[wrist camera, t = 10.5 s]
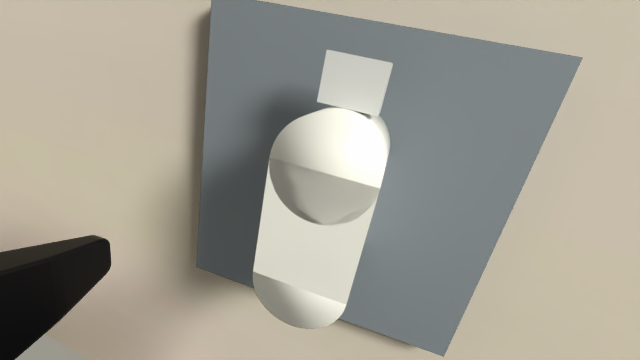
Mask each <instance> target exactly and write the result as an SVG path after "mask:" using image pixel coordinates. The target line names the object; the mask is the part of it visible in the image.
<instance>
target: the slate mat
mask: <svg viewBox="0 0 640 360" xmlns="http://www.w3.org/2000/svg"><path fill="white" fill-rule="evenodd" d="M327 50H332V51H337V52H342V53H347V54H352V55H357V56H361V57H366V58H371V59H376V60H381V61H386V62H391V63H393V66H392V70H391V74H390V78H389V81H388V85H387V89H386V93H385V96H384V100H383V104H382V108H381V111H380V114H379V116H380V117H381V118H382V119H383V121H384V122H385V124H386V126H387V129H388V132H389V136H390V151H389V155H388V159H387V163H386V167H385V171H384V176H383V180H382V184H381V188H380V191H379V195H378V198H377V202H376V205H375V208H374V212H373V215H372V219H371V222H370V225H369V229H368V232H367V236H366V239H365V243H364V246H363V249H362V253H361V256H360V260H359V263H358V267H357V270H356V273H355V277H354V280H353V284H352V287H351V291H350V294H349V297H348V301H347V304H346V307H345V310H344V311H343V313H342V315H341V316H340V317H339V318H338V319H341V320H344V321H347V322H349V323H352V324H355V325H358V326H361V327H363V328H366V329H369V330H372V331H374V332H377V333H380V334H383V335H385V336H388V337H391V338H394V339H396V340H399V341H402V342H405V343H407V344H410V345H413V346H416V347H419V348H421V349H424V350H427V351H430V352H432V353H435V354H438V355H441V356H443V357H444V355H445V353H446V351H447V349H448V346H449V344H450V342H451V340H452V338H453V336H454V334H455V331H456V329H457V327H458V325H459V323H460V321H461V318H462V316H463V314H464V312H465V310H466V308H467V306H468V303H469V301H470V299H471V297H472V295H473V293H474V291H475V288H476V286H477V284H478V282H479V280H480V278H481V275H482V273H483V271H484V269H485V267H486V265H487V263H488V260H489V258H490V256H491V254H492V252H493V250H494V247H495V245H496V243H497V241H498V239H499V237H500V235H501V232H502V230H503V228H504V226H505V224H506V222H507V220H508V217H509V215H510V213H511V211H512V209H513V207H514V204H515V202H516V200H517V198H518V196H519V194H520V192H521V189H522V187H523V185H524V183H525V181H526V179H527V176H528V174H529V172H530V170H531V168H532V166H533V164H534V161H535V159H536V157H537V155H538V153H539V151H540V149H541V146H542V144H543V142H544V140H545V138H546V136H547V133H548V131H549V129H550V127H551V125H552V123H553V121H554V118H555V116H556V114H557V112H558V110H559V108H560V105H561V103H562V101H563V99H564V97H565V95H566V93H567V90H568V88H569V86H570V84H571V82H572V80H573V78H574V75H575V73H576V71H577V69H578V67H579V65H580V62H581V60H582V57H576V56H571V55H565V54H559V53H554V52H548V51H542V50H537V49H531V48H525V47H519V46H514V45H508V44H502V43H497V42H491V41H485V40H480V39H474V38H468V37H463V36H457V35H451V34H445V33H440V32H434V31H428V30H423V29H417V28H411V27H406V26H400V25H394V24H388V23H383V22H377V21H371V20H366V19H360V18H354V17H349V16H343V15H337V14H331V13H326V12H320V11H314V10H309V9H303V8H297V7H292V6H286V5H280V4H275V3H269V2H263V1H257V0H211V18H210V35H209V53H208V71H207V88H206V106H205V123H204V141H203V159H202V176H201V194H200V211H199V229H198V247H197V264H196V267H198V268H200V269H203V270H206V271H209V272H211V273H214V274H217V275H220V276H222V277H225V278H228V279H231V280H233V281H236V282H239V283H242V284H245V285H247V286H250V287H253V288H254V284H253V268H254V261H255V254H256V247H257V240H258V233H259V227H260V220H261V213H262V206H263V199H264V192H265V185H266V178H267V171H268V164H269V157H270V153H271V149H272V146H273V144H274V142H275V140H276V138H277V136H278V135H279V134H280V132H281V131H282V130H283V129H284V128H285V127H286V126H287V125H288V124H290V123H291V122H292V121H294V120H296V119H298V118H300V117H302V116H305V115H308V114H310V113H313V112H316V111H319V110H322V109H324V108H327V107H330V106H332V105H328V104H324V103H320V102H317V98H318V93H319V88H320V83H321V77H322V72H323V67H324V61H325V56H326V51H327Z"/></svg>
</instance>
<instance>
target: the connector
mask: <svg viewBox="0 0 640 360" xmlns="http://www.w3.org/2000/svg"><path fill="white" fill-rule="evenodd" d="M392 66H393V63H391V62H386V61H381V60H376V59H371V58H366V57H361V56H357V55H352V54H347V53H342V52H337V51H332V50H327V51H326V56H325V61H324V67H323V72H322V77H321V83H320V88H319V93H318V98H317V102H320V103H324V104H328V105H332V106H330V107H327V108H324V109H322V110H319V111H316V112H313V113H310V114H308V115H305V116H302V117H300V118H298V119H296V120H294V121H292V122H291V123H290V124H288V125H287V126H286V127H285V128H284V129H283V130H282V131H281V132H280V134H279V135H278V136H277V138H276V140H275V142H274V144H273V146H272V149H271V153H270V157H269V164H268V171H267V178H266V185H265V192H264V199H263V206H262V213H261V220H260V227H259V233H258V240H257V247H256V254H255V261H254V268H253V284H254V288H255V291H256V294H257V296H258V298H259V300H260V301H261V303H262V304H263V305H264V307H265V308H266V309H267V310H268V311H269V312H270V313H271V314H273V315H274V316H275V317H276V318H278V319H279V320H281V321H283V322H285V323H287V324H289V325H292V326H295V327H299V328H305V329H315V328H321V327H325V326H327V325H330V324H331V323H333V322H335V321H336V320H337V319H338V318H339V317H340V316H341V315H342V313H343V311H344V310H345V307H346V304H347V301H348V297H349V294H350V291H351V287H352V284H353V280H354V277H355V273H356V270H357V267H358V263H359V260H360V256H361V253H362V249H363V246H364V243H365V239H366V236H367V232H368V229H369V225H370V222H371V219H372V215H373V212H374V208H375V205H376V202H377V198H378V195H379V191H380V188H381V184H382V180H383V176H384V171H385V167H386V163H387V159H388V155H389V151H390V136H389V132H388V129H387V126H386V124H385V122H384V121H383V119H382V118H381V117H380V116H379V114H380V111H381V108H382V104H383V100H384V96H385V93H386V89H387V85H388V81H389V78H390V74H391V70H392Z"/></svg>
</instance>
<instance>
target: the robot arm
mask: <svg viewBox="0 0 640 360" xmlns="http://www.w3.org/2000/svg"><path fill="white" fill-rule="evenodd" d="M110 267H111V253H110V243H109V241H108V240H107V239H105V238H102V237H99V236H96V235H90V236H85V237H79V238H74V239H69V240H63V241H58V242H53V243H47V244H42V245H37V246H31V247H26V248H21V249H15V250H10V251H5V252H0V360H15V359H16V358H17V357H18V356H19V355H20V354H22V353H23V352H24V351H25V350H26V349H27V348H29V347H30V346H31V345H32V344H33V343H34V342H35V341H37V340H38V339H39V338H40V337H41V336H43V335H44V334H45V333H46V332H47V331H48V330H50V329H51V328H52V327H53V326H54V325H55V324H56V323H57V322H59V321H60V320H61V319H62V318H63V317H64V316H65V315H66V314H67V313H68V312H69V311H70V310H71V309H72V308H73V307H74V306H75V305H76V304H77V303H78V302H79V301H80V300H81V299H82V298H83V297H84V296H85V295H86V294H87V293H88V292H89V291H90V290H91V289H92V288H93V287H94V286H95V285H96V284H97V283H98V282H99V281H100V280H101V279H102V278H103V277H104V276H105V275H106V274H107V272H108V271H109V269H110Z"/></svg>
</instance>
